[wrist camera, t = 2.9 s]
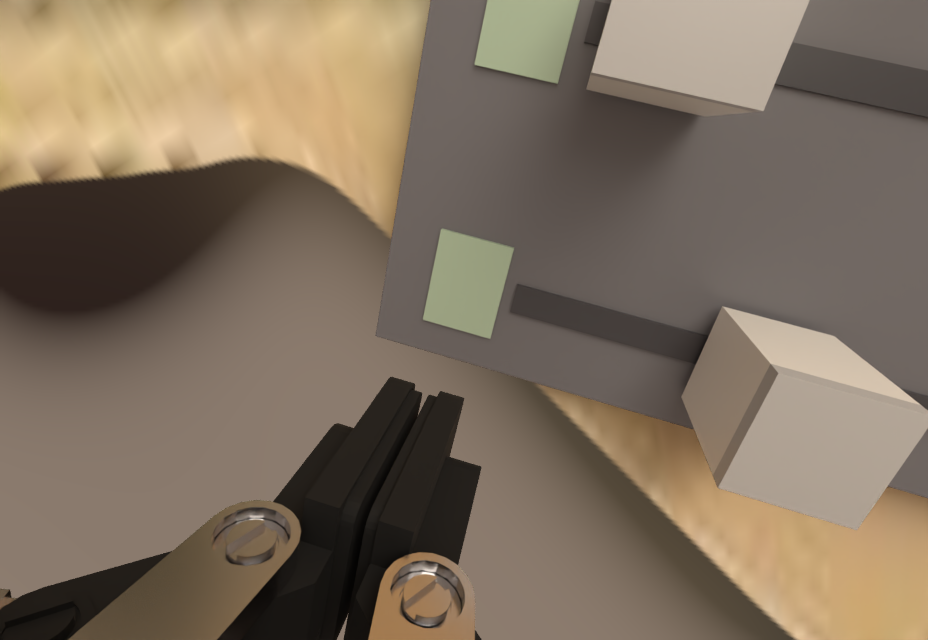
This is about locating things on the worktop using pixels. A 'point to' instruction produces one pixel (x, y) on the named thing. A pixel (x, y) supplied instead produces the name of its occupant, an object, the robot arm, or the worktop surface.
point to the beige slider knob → (798, 418)
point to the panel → (660, 205)
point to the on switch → (695, 52)
